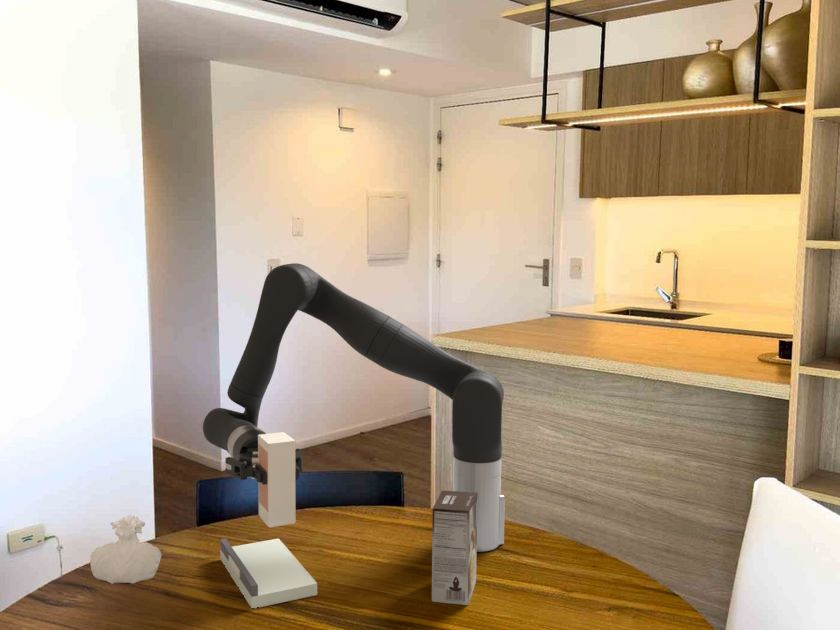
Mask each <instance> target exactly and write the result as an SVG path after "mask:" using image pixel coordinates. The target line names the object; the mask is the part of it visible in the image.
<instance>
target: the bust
mask: <svg viewBox="0 0 840 630" xmlns="http://www.w3.org/2000/svg"><path fill="white" fill-rule="evenodd" d="M110 525H111V526H112V530H115V532H114V533H115V535H116V536H117V538H118V540H117V541H115V542H109V543H105V544H104V545H102V546H97V547H96V548H95V549H94V550H93V551H92V552H90V553H91V554H90V558H89V563H90V570H91V573H92V575H93V577H94V578H95V579H97V580H100V581H106V582H107V583H110V584H122V583H123V584H127V583H129V584H137V583H138V582H141V581H146V580H150V579H153V578H154V577H155V575H156V573H157V571H158V568H159V565H160V562H161V559H162V552H161V550H160V549H159V548H158V547H157V546H155V545H152V544H151V543H149V542H146V541H143V542H140V539H139V537H138V535H137V534H140V535H141V534H143V527H145V526H146V522H145V521H143V520H141V519H140V518H139V517H138V516H135V515H132V514H130V515H127V516H124V517H121V519H120V518H119V520H115V522H114V521H112V522H110Z"/></svg>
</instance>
